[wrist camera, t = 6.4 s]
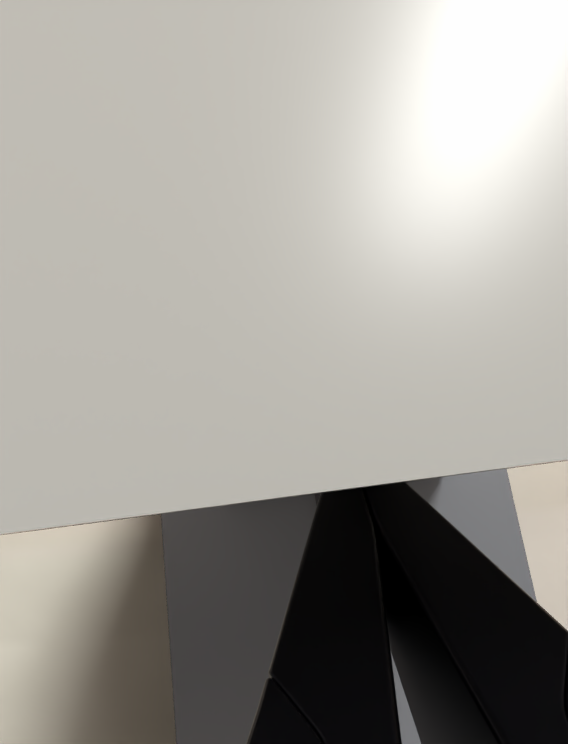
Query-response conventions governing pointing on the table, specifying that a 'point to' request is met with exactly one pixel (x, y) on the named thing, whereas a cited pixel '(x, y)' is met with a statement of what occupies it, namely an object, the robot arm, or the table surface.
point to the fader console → (283, 593)
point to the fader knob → (276, 249)
